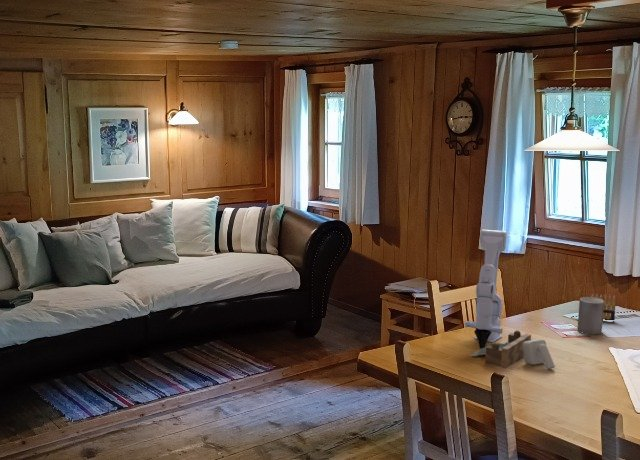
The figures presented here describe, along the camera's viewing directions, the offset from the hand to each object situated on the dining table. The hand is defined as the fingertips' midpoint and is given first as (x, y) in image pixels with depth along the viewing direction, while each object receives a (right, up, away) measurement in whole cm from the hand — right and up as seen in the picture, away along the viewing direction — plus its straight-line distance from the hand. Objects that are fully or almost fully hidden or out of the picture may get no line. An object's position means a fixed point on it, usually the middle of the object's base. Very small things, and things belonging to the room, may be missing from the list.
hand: (482, 348), depth 287 cm
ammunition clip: (+62, +5, +46) cm, 77 cm away
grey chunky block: (+18, -4, -14) cm, 24 cm away
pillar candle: (+51, +2, +29) cm, 59 cm away
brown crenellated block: (+9, -3, -7) cm, 12 cm away
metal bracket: (+4, -3, -3) cm, 5 cm away
